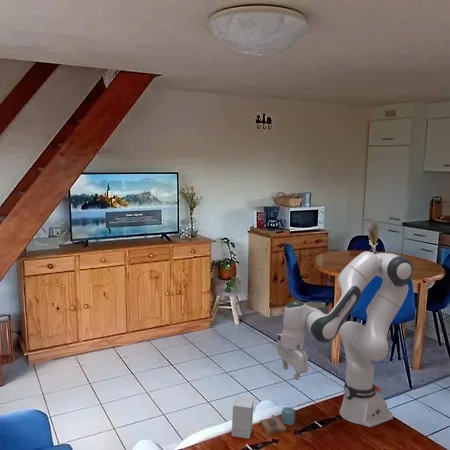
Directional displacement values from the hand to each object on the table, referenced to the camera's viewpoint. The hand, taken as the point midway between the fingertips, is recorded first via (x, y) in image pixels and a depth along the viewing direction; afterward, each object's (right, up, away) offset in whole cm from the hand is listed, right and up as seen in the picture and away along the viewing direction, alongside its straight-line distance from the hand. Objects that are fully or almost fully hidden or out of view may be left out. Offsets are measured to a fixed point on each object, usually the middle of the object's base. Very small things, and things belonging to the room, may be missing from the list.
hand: (290, 374), depth 183 cm
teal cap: (-1, -21, +3) cm, 21 cm away
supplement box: (-20, -21, -6) cm, 30 cm away
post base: (-7, -21, -1) cm, 22 cm away
